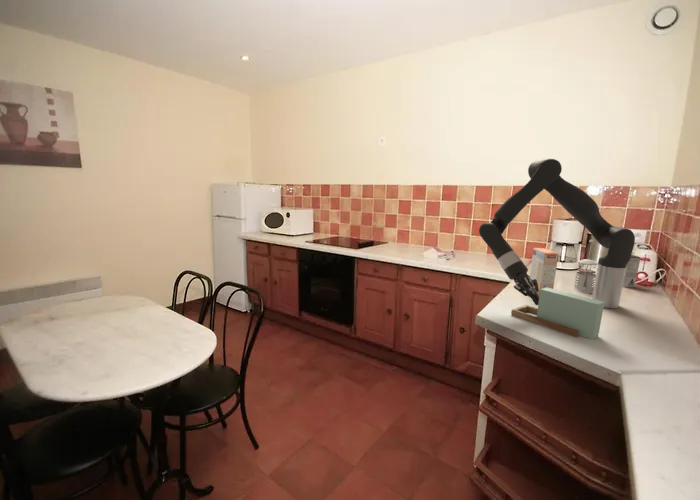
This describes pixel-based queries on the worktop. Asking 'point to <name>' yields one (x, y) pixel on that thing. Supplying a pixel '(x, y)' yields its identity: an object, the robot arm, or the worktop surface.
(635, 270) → the coffee box
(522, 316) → the open frame
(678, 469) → the worktop surface
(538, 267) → the cracker box
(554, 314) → the pale green rectangular block
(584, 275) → the french press
